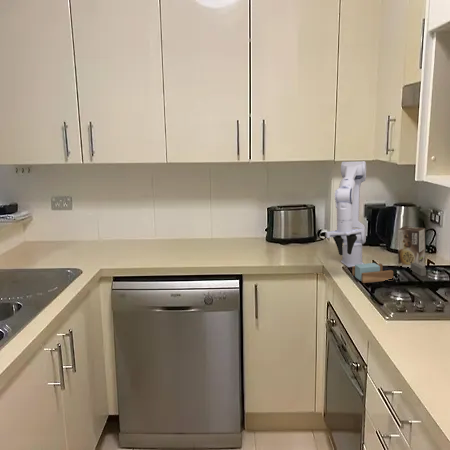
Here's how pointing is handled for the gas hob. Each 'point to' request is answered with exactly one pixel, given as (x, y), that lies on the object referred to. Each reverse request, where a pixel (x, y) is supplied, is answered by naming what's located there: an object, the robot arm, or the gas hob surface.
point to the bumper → (418, 269)
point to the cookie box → (411, 246)
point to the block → (365, 269)
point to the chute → (375, 275)
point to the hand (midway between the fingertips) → (345, 254)
